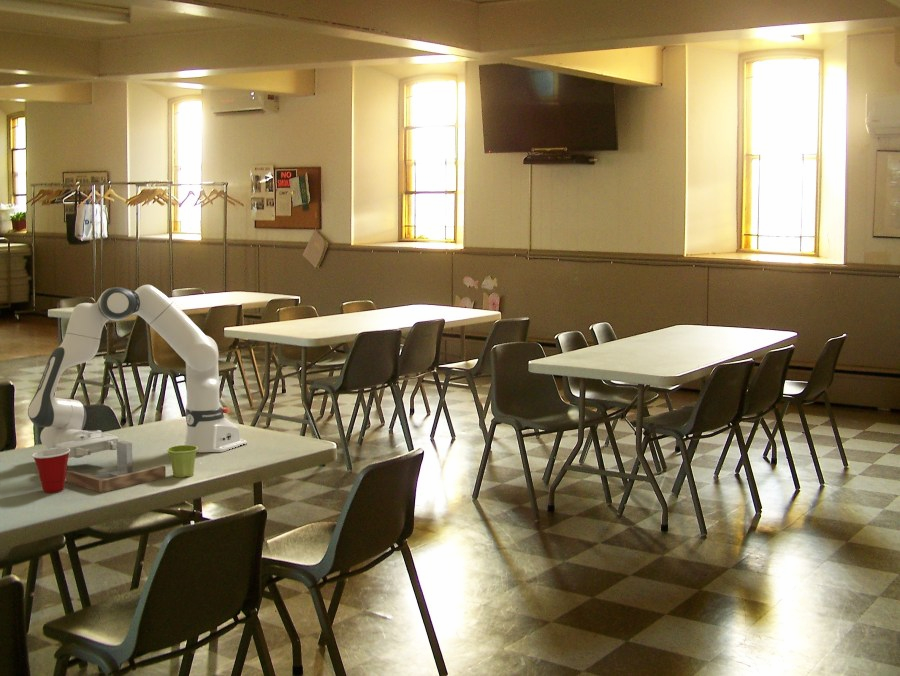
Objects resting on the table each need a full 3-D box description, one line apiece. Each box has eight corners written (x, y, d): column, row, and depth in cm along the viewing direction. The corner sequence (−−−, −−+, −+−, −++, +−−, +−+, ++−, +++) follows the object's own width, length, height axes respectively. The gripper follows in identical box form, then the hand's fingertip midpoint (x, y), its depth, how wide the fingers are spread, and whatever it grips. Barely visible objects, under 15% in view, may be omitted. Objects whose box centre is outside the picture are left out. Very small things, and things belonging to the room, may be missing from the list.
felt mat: (128, 468, 347) (128, 467, 346) (159, 476, 337) (159, 475, 337) (73, 481, 331) (73, 479, 331) (104, 489, 321) (104, 488, 321)
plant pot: (190, 480, 333) (190, 452, 332) (162, 478, 335) (161, 451, 334) (203, 472, 342) (202, 445, 341) (176, 471, 344) (175, 444, 343)
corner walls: (129, 467, 347) (128, 457, 347) (165, 477, 336) (165, 466, 335) (65, 482, 329) (65, 471, 329) (102, 492, 318) (101, 481, 317)
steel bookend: (123, 475, 337) (122, 440, 335) (133, 477, 334) (131, 442, 332) (109, 478, 333) (108, 443, 331) (119, 480, 330) (117, 445, 328)
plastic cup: (39, 486, 325) (37, 447, 324) (76, 485, 326) (74, 446, 325) (28, 495, 314) (26, 455, 313) (66, 495, 315) (64, 454, 314)
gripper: (47, 439, 341) (72, 445, 332) (103, 429, 357) (128, 434, 348) (47, 459, 341) (73, 465, 333) (103, 447, 357) (129, 453, 349)
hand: (101, 449), depth 341 cm, fingers open, 8 cm apart
